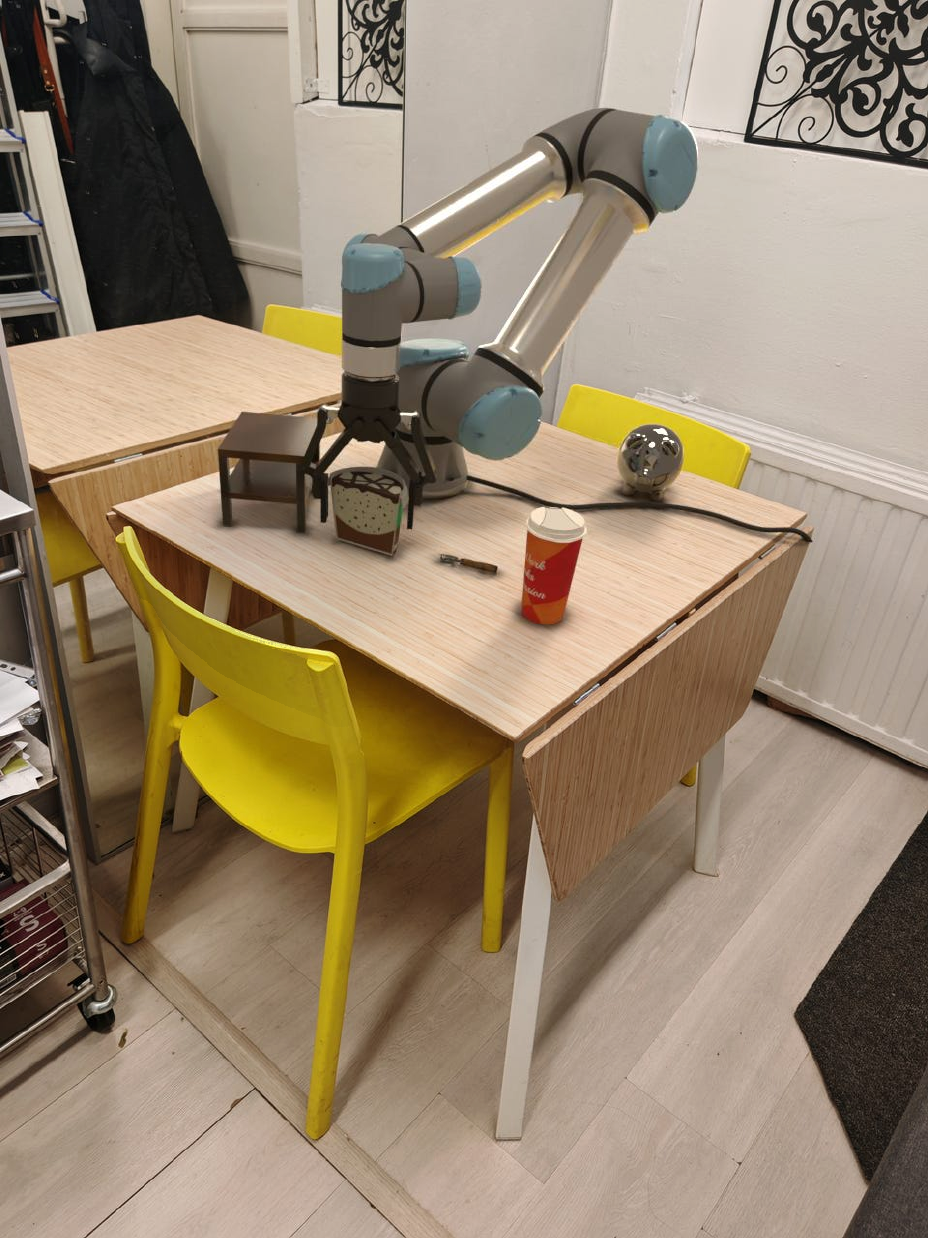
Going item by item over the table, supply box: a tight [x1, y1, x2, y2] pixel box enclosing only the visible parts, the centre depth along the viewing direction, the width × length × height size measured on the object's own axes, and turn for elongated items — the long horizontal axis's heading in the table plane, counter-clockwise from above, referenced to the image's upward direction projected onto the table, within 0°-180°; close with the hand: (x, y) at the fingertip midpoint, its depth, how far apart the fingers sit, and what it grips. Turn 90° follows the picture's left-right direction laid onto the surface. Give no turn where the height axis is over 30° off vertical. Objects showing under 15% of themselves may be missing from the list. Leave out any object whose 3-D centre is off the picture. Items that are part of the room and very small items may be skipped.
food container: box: [327, 466, 409, 557], centre depth 128 cm, size 12×6×10 cm, turn 64°
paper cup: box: [521, 506, 588, 626], centre depth 115 cm, size 8×8×14 cm
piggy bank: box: [616, 423, 686, 502], centre depth 151 cm, size 11×15×12 cm
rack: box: [217, 411, 321, 534], centre depth 134 cm, size 12×15×12 cm
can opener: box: [437, 553, 499, 574], centre depth 127 cm, size 9×2×1 cm, turn 65°
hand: (367, 522), depth 129 cm, fingers closed on food container, 12 cm apart
